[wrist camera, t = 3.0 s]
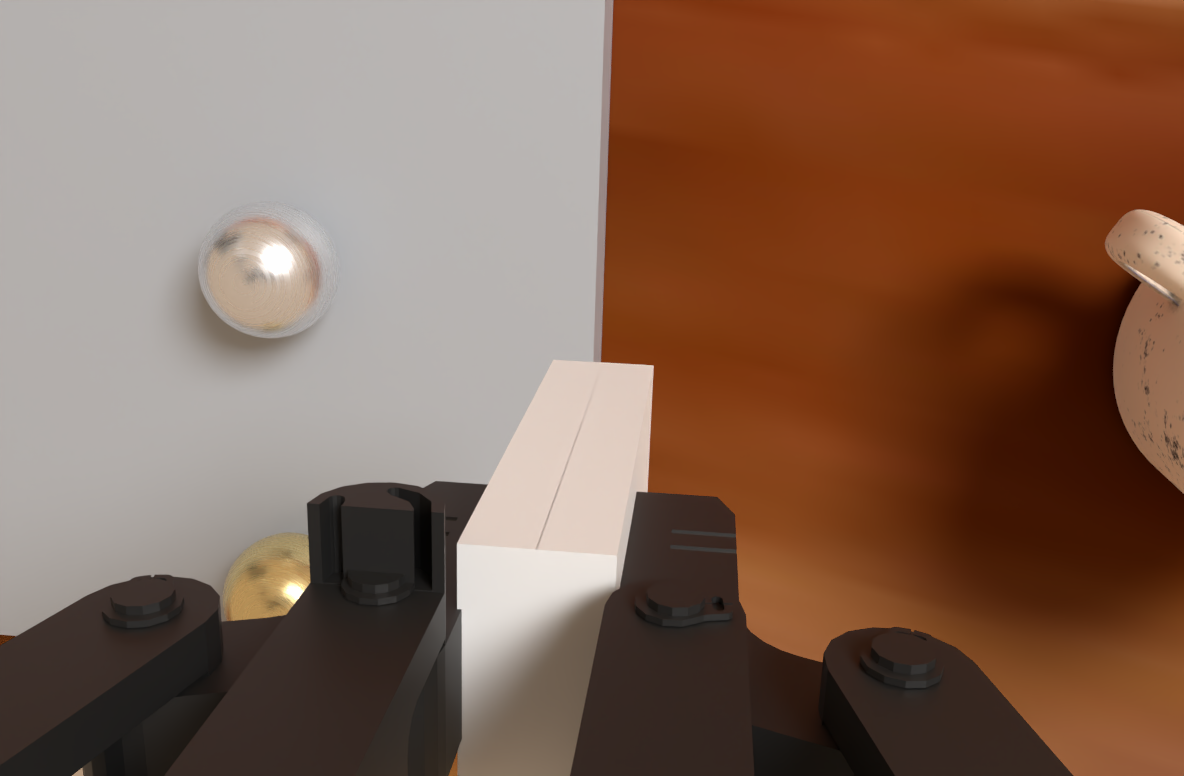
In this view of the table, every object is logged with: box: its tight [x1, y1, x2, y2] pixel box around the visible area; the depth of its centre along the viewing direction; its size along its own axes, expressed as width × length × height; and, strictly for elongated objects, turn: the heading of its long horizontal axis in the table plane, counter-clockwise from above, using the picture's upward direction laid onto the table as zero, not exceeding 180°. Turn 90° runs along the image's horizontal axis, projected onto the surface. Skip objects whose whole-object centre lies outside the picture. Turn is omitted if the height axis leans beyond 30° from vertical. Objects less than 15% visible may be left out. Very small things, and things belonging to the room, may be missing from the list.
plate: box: [0, 0, 613, 636], centre depth 31 cm, size 28×24×2 cm
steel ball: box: [198, 201, 340, 338], centre depth 28 cm, size 3×3×3 cm
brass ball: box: [223, 533, 310, 621], centre depth 30 cm, size 3×3×3 cm
